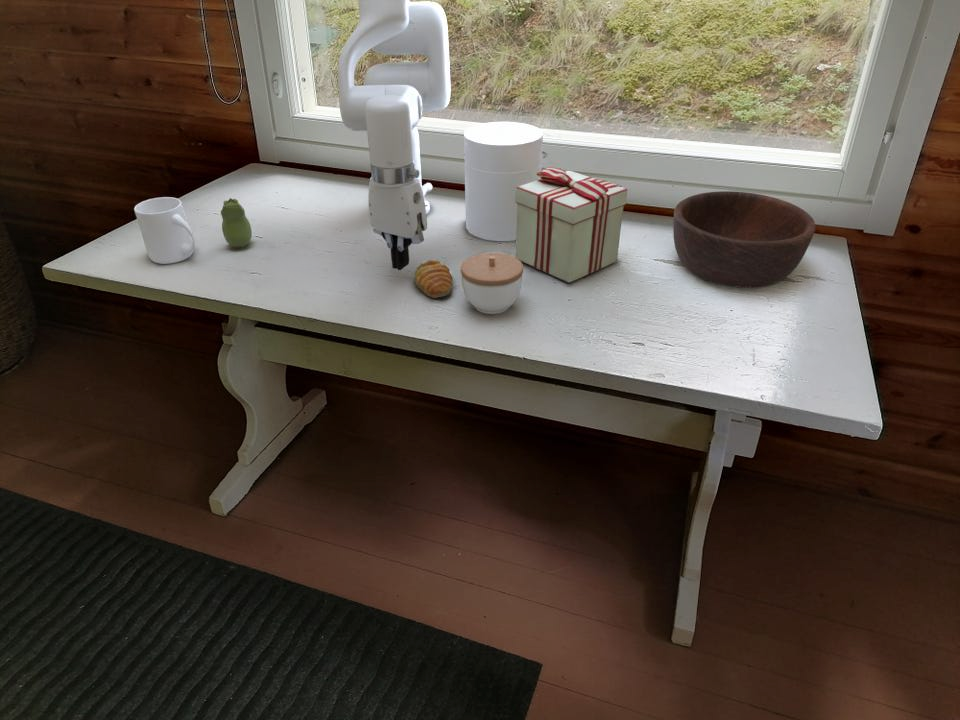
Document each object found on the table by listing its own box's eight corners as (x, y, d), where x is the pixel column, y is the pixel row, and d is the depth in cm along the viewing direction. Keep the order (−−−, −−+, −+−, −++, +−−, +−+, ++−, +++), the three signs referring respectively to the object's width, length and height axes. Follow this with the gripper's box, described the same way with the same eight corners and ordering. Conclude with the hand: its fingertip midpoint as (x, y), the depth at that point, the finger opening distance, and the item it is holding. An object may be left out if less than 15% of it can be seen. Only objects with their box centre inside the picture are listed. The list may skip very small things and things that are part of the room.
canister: (554, 225, 151) (559, 132, 140) (503, 248, 142) (504, 150, 130) (501, 205, 160) (502, 117, 149) (450, 225, 151) (447, 133, 140)
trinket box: (459, 292, 127) (458, 245, 121) (518, 289, 127) (519, 242, 122) (463, 322, 118) (462, 273, 112) (526, 319, 118) (527, 270, 113)
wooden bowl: (658, 283, 128) (666, 232, 123) (675, 231, 148) (682, 184, 142) (803, 305, 121) (818, 252, 115) (801, 247, 141) (814, 199, 135)
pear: (253, 239, 147) (244, 193, 141) (255, 249, 142) (245, 203, 137) (226, 242, 145) (215, 197, 140) (226, 253, 141) (215, 206, 135)
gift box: (630, 254, 139) (640, 170, 129) (574, 287, 128) (581, 198, 118) (562, 231, 148) (567, 151, 138) (505, 260, 137) (506, 175, 127)
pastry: (460, 297, 125) (459, 278, 123) (423, 303, 124) (422, 284, 121) (446, 274, 132) (445, 256, 130) (412, 279, 131) (410, 261, 129)
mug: (182, 272, 134) (168, 220, 128) (140, 259, 139) (124, 209, 133) (216, 254, 141) (203, 204, 134) (174, 243, 145) (160, 194, 139)
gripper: (440, 172, 120) (444, 267, 131) (372, 158, 126) (381, 250, 137) (416, 186, 115) (422, 284, 125) (345, 171, 121) (357, 265, 132)
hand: (400, 266), depth 131 cm, fingers closed
